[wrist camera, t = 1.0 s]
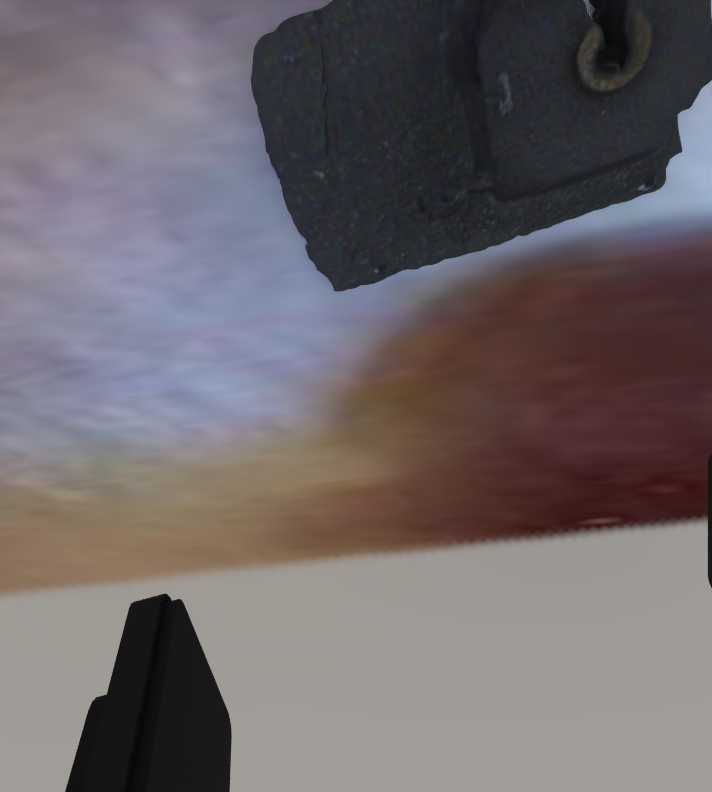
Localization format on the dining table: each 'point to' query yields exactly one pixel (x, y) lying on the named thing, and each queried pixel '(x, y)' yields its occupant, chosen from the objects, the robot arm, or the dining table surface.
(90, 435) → the dining table surface
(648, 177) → the dark slate chunk
